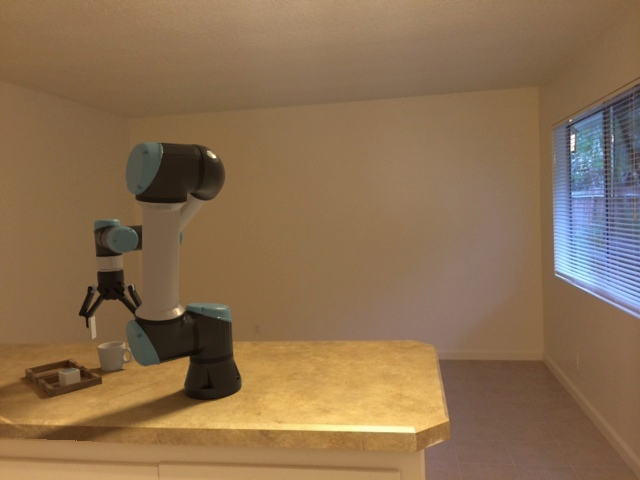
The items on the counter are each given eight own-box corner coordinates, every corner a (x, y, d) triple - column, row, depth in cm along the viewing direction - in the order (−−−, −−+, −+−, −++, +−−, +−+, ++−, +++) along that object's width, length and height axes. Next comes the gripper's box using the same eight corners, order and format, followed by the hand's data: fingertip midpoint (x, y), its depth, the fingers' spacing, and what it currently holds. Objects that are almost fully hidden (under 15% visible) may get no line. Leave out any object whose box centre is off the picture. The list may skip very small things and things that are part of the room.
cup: (140, 365, 157) (138, 340, 156) (127, 374, 149) (126, 348, 148) (107, 366, 158) (105, 341, 157) (93, 374, 150) (91, 348, 149)
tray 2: (102, 385, 140) (101, 377, 139) (51, 399, 131) (51, 390, 130) (86, 375, 149) (85, 367, 149) (38, 387, 140) (37, 379, 140)
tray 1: (85, 375, 150) (84, 366, 150) (37, 387, 141) (36, 378, 141) (71, 366, 159) (70, 358, 159) (25, 377, 150) (25, 369, 150)
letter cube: (80, 383, 140) (79, 369, 140) (66, 388, 137) (65, 373, 137) (73, 381, 143) (72, 367, 142) (59, 385, 139) (58, 371, 139)
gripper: (155, 266, 155) (158, 333, 156) (76, 269, 155) (81, 335, 157) (145, 270, 147) (150, 340, 149) (63, 272, 148) (68, 342, 150)
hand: (114, 337), depth 153 cm, fingers open, 13 cm apart
